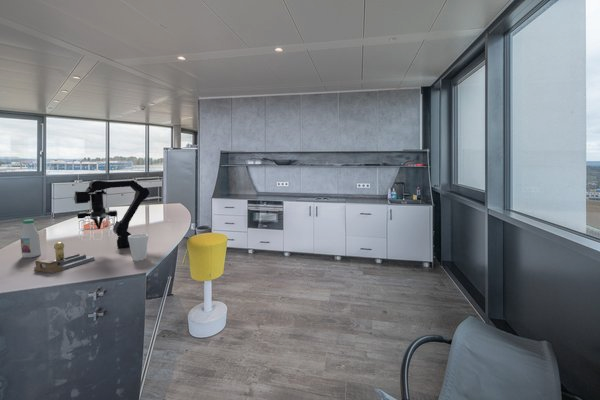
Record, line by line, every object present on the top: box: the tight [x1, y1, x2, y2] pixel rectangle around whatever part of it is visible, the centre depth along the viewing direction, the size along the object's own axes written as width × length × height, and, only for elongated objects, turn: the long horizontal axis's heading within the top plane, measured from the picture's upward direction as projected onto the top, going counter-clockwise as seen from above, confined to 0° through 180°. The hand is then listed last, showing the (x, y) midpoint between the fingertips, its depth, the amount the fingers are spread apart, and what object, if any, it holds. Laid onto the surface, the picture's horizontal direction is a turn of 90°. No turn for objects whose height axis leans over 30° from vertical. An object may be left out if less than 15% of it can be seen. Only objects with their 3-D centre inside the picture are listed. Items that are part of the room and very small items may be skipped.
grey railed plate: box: [33, 253, 95, 274], centre depth 153 cm, size 21×12×5 cm, turn 163°
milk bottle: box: [20, 218, 42, 259], centre depth 165 cm, size 8×8×20 cm
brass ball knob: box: [41, 241, 66, 268], centre depth 148 cm, size 10×4×10 cm, turn 163°
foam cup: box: [128, 233, 149, 262], centre depth 163 cm, size 10×9×13 cm
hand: (99, 229), depth 176 cm, fingers closed
